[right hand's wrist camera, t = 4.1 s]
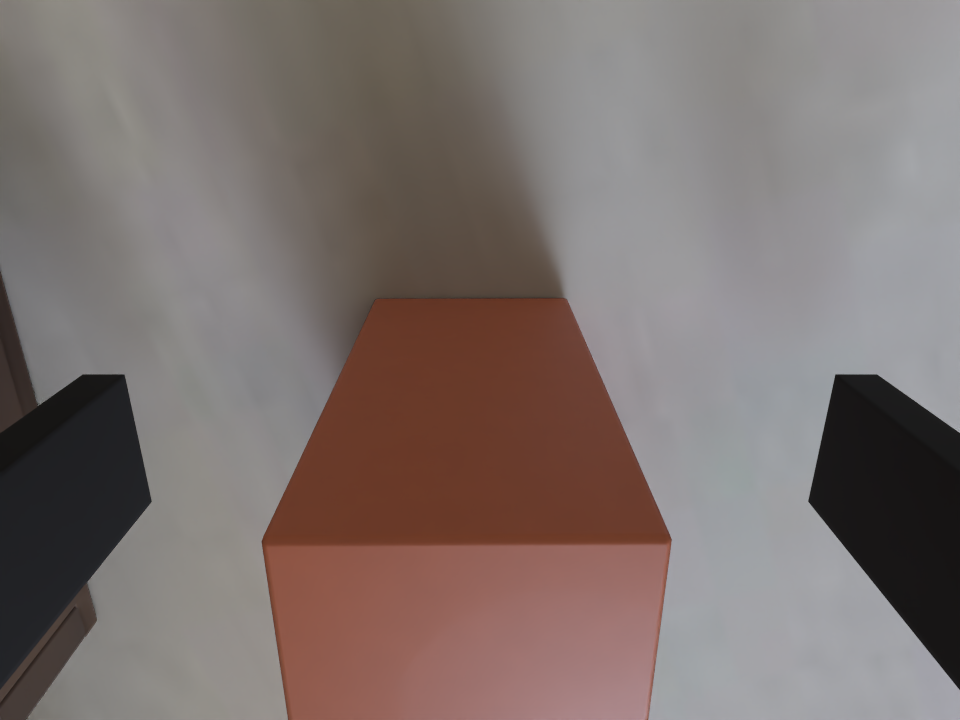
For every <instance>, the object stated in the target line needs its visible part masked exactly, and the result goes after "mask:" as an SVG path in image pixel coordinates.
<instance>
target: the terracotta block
mask: <svg viewBox="0 0 960 720" xmlns="http://www.w3.org/2000/svg"><path fill="white" fill-rule="evenodd" d="M671 541H672V539H671V537H670V534H669V532H668V530H667V527H666V525H665V523H664V520H663V518H662V516H661V514H660V511H659V509H658V507H657V504H656V502H655V500H654V498H653V495H652V493H651V491H650V488H649V486H648V484H647V482H646V479H645V477H644V475H643V472H642V470H641V468H640V466H639V463H638V461H637V459H636V456H635V454H634V452H633V450H632V447H631V445H630V443H629V440H628V438H627V436H626V434H625V431H624V429H623V427H622V424H621V422H620V420H619V418H618V415H617V413H616V411H615V408H614V406H613V404H612V402H611V399H610V397H609V395H608V392H607V390H606V388H605V386H604V383H603V381H602V379H601V376H600V374H599V372H598V370H597V367H596V365H595V363H594V360H593V358H592V356H591V354H590V351H589V349H588V347H587V344H586V342H585V340H584V337H583V335H582V333H581V331H580V328H579V326H578V324H577V321H576V319H575V317H574V315H573V312H572V310H571V308H570V305H569V303H568V301H567V299H564V298H510V299H376V300H375V301H374V303H373V305H372V307H371V310H370V312H369V314H368V316H367V318H366V320H365V322H364V324H363V327H362V329H361V331H360V333H359V335H358V337H357V339H356V341H355V343H354V346H353V348H352V350H351V352H350V354H349V356H348V358H347V360H346V363H345V365H344V367H343V369H342V371H341V373H340V375H339V377H338V380H337V382H336V384H335V386H334V388H333V390H332V392H331V394H330V397H329V399H328V401H327V403H326V405H325V407H324V409H323V411H322V413H321V416H320V418H319V420H318V422H317V424H316V426H315V428H314V430H313V433H312V435H311V437H310V439H309V441H308V443H307V445H306V447H305V450H304V452H303V454H302V456H301V458H300V460H299V462H298V464H297V467H296V469H295V471H294V473H293V475H292V477H291V479H290V481H289V484H288V486H287V488H286V490H285V492H284V494H283V496H282V498H281V500H280V503H279V505H278V507H277V509H276V511H275V513H274V515H273V517H272V520H271V522H270V524H269V526H268V528H267V530H266V532H265V534H264V537H263V539H262V547H263V554H264V560H265V567H266V574H267V581H268V587H269V594H270V601H271V607H272V614H273V621H274V627H275V634H276V641H277V648H278V654H279V661H280V668H281V674H282V681H283V688H284V694H285V701H286V708H287V715H288V720H648V717H649V709H650V701H651V694H652V686H653V678H654V671H655V663H656V656H657V648H658V640H659V633H660V625H661V617H662V610H663V602H664V594H665V587H666V579H667V571H668V564H669V556H670V549H671Z"/></svg>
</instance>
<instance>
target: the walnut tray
mask: <svg viewBox="0 0 960 720" xmlns="http://www.w3.org/2000/svg"><path fill="white" fill-rule="evenodd" d="M36 407H38V406H37V402H36V398H35V395H34V391H33V388H32V384H31V381H30V377H29V373H28V370H27V366H26V363H25V359H24V355H23V352H22V348H21V345H20V341H19V337H18V334H17V330H16V327H15V323H14V319H13V316H12V312H11V309H10V305H9V301H8V298H7V294H6V291H5V287H4V283H3V280H2V276H1V273H0V433H1V432H3V431H4V430H5V429H7V428H8V427H10V426H11V425H12V424H14V423H15V422H17V421H18V420H20V419H21V418H22V417H24V416H25V415H27V414H28V413H29V412H31V411H32V410H34V409H35V408H36ZM96 621H97V618H96V614H95V611H94V607H93V603H92V600H91V596H90V593H89V589H88V585H87V583H86V584H85V585H84V586H83V588H82V589H81V590H80V591H79V593H78V594H77V595H76V596H75V598H74V599H73V600H72V601H71V602H70V604H69V605H68V606H67V607H66V609H65V610H64V611H63V612H62V614H61V615H60V616H59V617H58V619H57V620H56V621H55V622H54V624H53V625H52V626H51V627H50V629H49V630H48V631H47V632H46V634H45V635H44V636H43V637H42V639H41V640H40V641H39V642H38V644H37V645H36V646H35V647H34V648H33V650H32V651H31V652H30V653H29V655H28V656H27V657H26V658H25V660H24V661H23V662H22V663H21V665H20V666H19V667H18V668H17V670H16V671H15V672H14V673H13V675H12V676H11V677H10V678H9V680H8V681H7V682H6V683H5V685H4V686H3V687H2V688H1V690H0V720H26V719H27V718H28V716H29V715H30V713H31V712H32V711H33V709H34V708H35V706H36V705H37V703H38V702H39V701H40V699H41V698H42V696H43V695H44V694H45V692H46V691H47V689H48V688H49V687H50V685H51V684H52V682H53V681H54V680H55V678H56V677H57V675H58V674H59V672H60V671H61V670H62V668H63V667H64V665H65V664H66V663H67V661H68V660H69V658H70V657H71V656H72V654H73V653H74V651H75V650H76V649H77V647H78V646H79V644H80V643H81V641H82V640H83V639H84V637H86V635H87V634H88V633H89V631H90V630H91V628H92V627H93V626H94V624H95V623H96Z"/></svg>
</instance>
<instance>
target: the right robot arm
mask: <svg viewBox="0 0 960 720" xmlns="http://www.w3.org/2000/svg"><path fill="white" fill-rule="evenodd" d="M151 502H152V501H151V496H150V491H149V487H148V482H147V477H146V473H145V468H144V463H143V459H142V454H141V449H140V445H139V440H138V435H137V431H136V426H135V421H134V417H133V412H132V407H131V403H130V398H129V393H128V389H127V384H126V379H125V375H82V376H80V377H79V378H77V379H76V380H75V381H73V382H72V383H70V384H69V385H68V386H66V387H65V388H63V389H62V390H60V391H59V392H58V393H56V394H55V395H53V396H52V397H51V398H49V399H48V400H46V401H45V402H44V403H42V404H41V405H39V406H38V407H36V408H35V409H34V410H32V411H31V412H29V413H28V414H27V415H25V416H24V417H22V418H21V419H20V420H18V421H17V422H15V423H14V424H12V425H11V426H10V427H8V428H7V429H5V430H4V431H3V432H1V433H0V690H1V688H2V687H3V686H4V685H5V683H6V682H7V681H8V680H9V678H10V677H11V676H12V675H13V673H14V672H15V671H16V670H17V668H18V667H19V666H20V665H21V663H22V662H23V661H24V660H25V658H26V657H27V656H28V655H29V653H30V652H31V651H32V650H33V648H34V647H35V646H36V645H37V644H38V642H39V641H40V640H41V639H42V637H43V636H44V635H45V634H46V632H47V631H48V630H49V629H50V627H51V626H52V625H53V624H54V622H55V621H56V620H57V619H58V617H59V616H60V615H61V614H62V612H63V611H64V610H65V609H66V607H67V606H68V605H69V604H70V602H71V601H72V600H73V599H74V598H75V596H76V595H77V594H78V593H79V591H80V590H81V589H82V588H83V586H84V585H85V584H86V583H87V581H88V580H89V579H90V578H91V576H92V575H93V574H94V573H95V571H96V570H97V569H98V568H99V566H100V565H101V564H102V563H103V561H104V560H105V559H106V558H107V556H108V555H109V554H110V553H111V552H112V550H113V549H114V548H115V547H116V545H117V544H118V543H119V542H120V540H121V539H122V538H123V537H124V535H125V534H126V533H127V532H128V530H129V529H130V528H131V527H132V525H133V524H134V523H135V522H136V520H137V519H138V518H139V517H140V515H141V514H142V513H143V512H144V510H145V509H146V508H147V507H148V506H149V504H150V503H151ZM808 502H809V503H810V504H811V506H812V507H813V508H814V509H815V510H816V512H817V513H818V514H819V515H820V517H821V518H822V519H823V520H824V522H825V523H826V524H827V525H828V527H829V528H830V529H831V530H832V532H833V533H834V534H835V535H836V537H837V538H838V539H839V540H840V542H841V543H842V544H843V545H844V547H845V548H846V549H847V550H848V552H849V553H850V554H851V555H852V556H853V558H854V559H855V560H856V561H857V563H858V564H859V565H860V566H861V568H862V569H863V570H864V571H865V573H866V574H867V575H868V576H869V578H870V579H871V580H872V581H873V583H874V584H875V585H876V586H877V588H878V589H879V590H880V591H881V593H882V594H883V595H884V596H885V598H886V599H887V600H888V601H889V602H890V604H891V605H892V606H893V607H894V609H895V610H896V611H897V612H898V614H899V615H900V616H901V617H902V619H903V620H904V621H905V622H906V624H907V625H908V626H909V627H910V629H911V630H912V631H913V632H914V634H915V635H916V636H917V637H918V639H919V640H920V641H921V642H922V644H923V645H924V646H925V647H926V648H927V650H928V651H929V652H930V653H931V655H932V656H933V657H934V658H935V660H936V661H937V662H938V663H939V665H940V666H941V667H942V668H943V670H944V671H945V672H946V673H947V675H948V676H949V677H950V678H951V680H952V681H953V682H954V683H955V685H956V686H957V687H958V688H959V690H960V433H959V432H957V431H956V430H955V429H953V428H952V427H950V426H949V425H948V424H946V423H945V422H943V421H942V420H940V419H939V418H938V417H936V416H935V415H933V414H932V413H931V412H929V411H928V410H926V409H925V408H924V407H922V406H921V405H919V404H918V403H916V402H915V401H914V400H912V399H911V398H909V397H908V396H907V395H905V394H904V393H902V392H901V391H900V390H898V389H897V388H895V387H894V386H892V385H891V384H890V383H888V382H887V381H885V380H884V379H883V378H881V377H880V376H878V375H835V379H834V384H833V389H832V393H831V398H830V403H829V407H828V412H827V417H826V421H825V426H824V431H823V435H822V440H821V445H820V449H819V454H818V459H817V463H816V468H815V473H814V477H813V482H812V487H811V491H810V496H809V501H808Z"/></svg>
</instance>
